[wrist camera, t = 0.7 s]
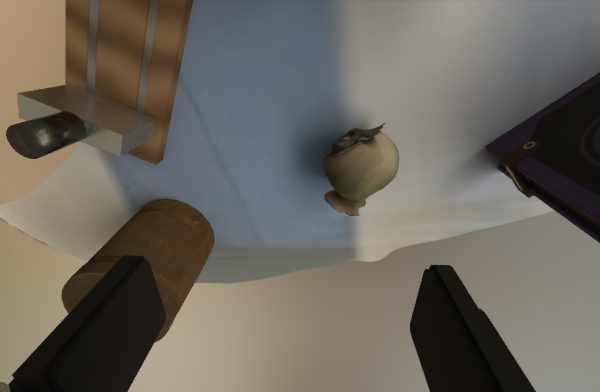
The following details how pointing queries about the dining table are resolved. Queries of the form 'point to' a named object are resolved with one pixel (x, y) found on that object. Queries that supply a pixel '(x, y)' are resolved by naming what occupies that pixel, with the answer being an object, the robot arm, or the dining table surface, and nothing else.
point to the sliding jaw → (76, 122)
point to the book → (559, 156)
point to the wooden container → (153, 254)
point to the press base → (129, 57)
